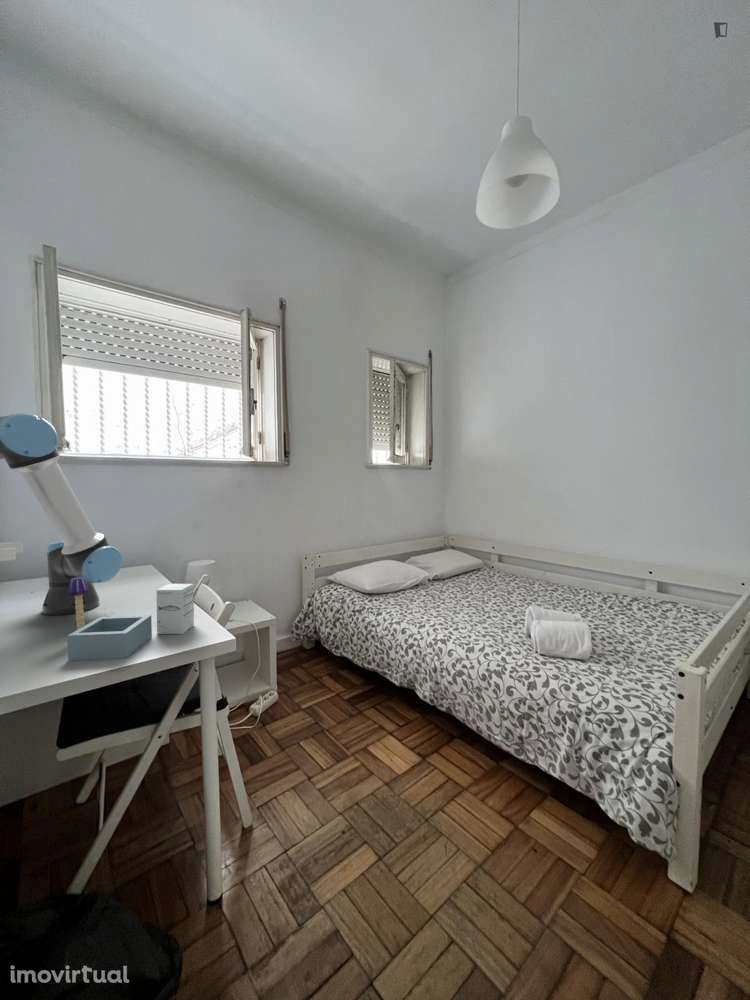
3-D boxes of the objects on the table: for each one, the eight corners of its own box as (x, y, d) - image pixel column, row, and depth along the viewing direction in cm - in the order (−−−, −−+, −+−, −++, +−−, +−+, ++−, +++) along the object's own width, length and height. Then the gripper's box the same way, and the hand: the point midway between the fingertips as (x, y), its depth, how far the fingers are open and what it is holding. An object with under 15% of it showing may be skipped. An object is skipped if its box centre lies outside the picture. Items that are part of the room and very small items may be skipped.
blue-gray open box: (100, 639, 104) (100, 617, 104) (151, 636, 106) (151, 615, 106) (68, 660, 91) (67, 635, 91) (126, 657, 93) (126, 633, 93)
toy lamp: (70, 644, 101) (68, 580, 100) (67, 639, 104) (65, 578, 104) (92, 639, 104) (91, 577, 104) (88, 634, 108) (87, 574, 107)
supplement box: (155, 634, 107) (154, 589, 107) (170, 625, 115) (169, 582, 114) (182, 634, 107) (181, 589, 107) (195, 625, 115) (194, 582, 114)
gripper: (-92, 567, 94) (26, 558, 106) (-141, 588, 73) (11, 574, 86) (-92, 536, 93) (25, 530, 106) (-143, 548, 73) (10, 540, 86)
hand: (19, 550), depth 96 cm, fingers open, 13 cm apart
